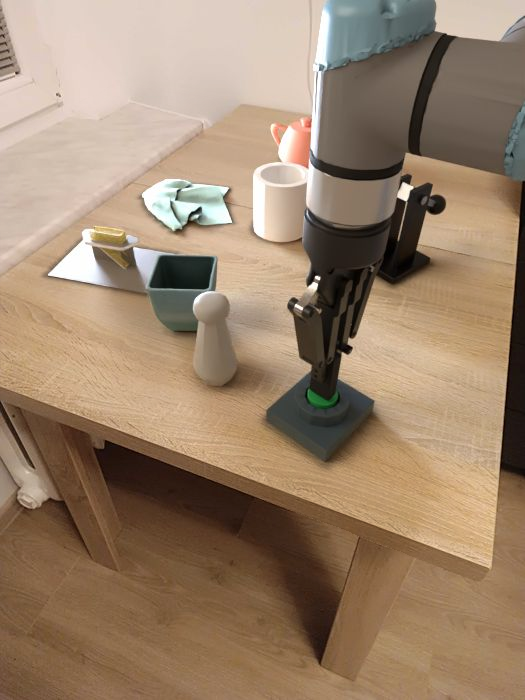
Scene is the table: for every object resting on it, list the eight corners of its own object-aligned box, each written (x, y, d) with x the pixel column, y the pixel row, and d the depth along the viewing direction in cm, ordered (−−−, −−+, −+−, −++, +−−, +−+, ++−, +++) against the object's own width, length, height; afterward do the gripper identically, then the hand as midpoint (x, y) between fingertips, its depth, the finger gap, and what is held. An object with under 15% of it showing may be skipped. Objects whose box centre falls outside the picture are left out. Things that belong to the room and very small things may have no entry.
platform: (146, 293, 80) (139, 258, 76) (47, 275, 83) (35, 240, 79) (175, 254, 88) (170, 220, 84) (84, 238, 92) (75, 206, 87)
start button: (318, 387, 62) (319, 377, 61) (342, 402, 61) (344, 392, 59) (300, 403, 60) (301, 394, 59) (324, 419, 59) (326, 410, 57)
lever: (426, 212, 88) (436, 193, 87) (442, 219, 86) (453, 200, 85) (390, 198, 79) (401, 177, 77) (408, 206, 77) (419, 185, 75)
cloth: (164, 176, 111) (163, 166, 109) (256, 193, 106) (256, 182, 104) (114, 219, 97) (111, 208, 95) (217, 241, 92) (216, 229, 90)
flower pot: (165, 301, 79) (157, 252, 72) (220, 303, 78) (218, 254, 72) (154, 339, 72) (144, 289, 66) (214, 341, 72) (211, 291, 66)
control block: (315, 377, 67) (317, 355, 64) (372, 412, 63) (377, 390, 60) (266, 420, 62) (266, 399, 59) (324, 462, 57) (328, 441, 55)
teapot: (275, 147, 123) (277, 106, 117) (348, 155, 121) (354, 113, 114) (264, 167, 115) (264, 124, 108) (342, 176, 112) (347, 133, 105)
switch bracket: (393, 244, 92) (411, 165, 81) (429, 263, 87) (452, 182, 77) (356, 263, 87) (369, 182, 77) (392, 284, 82) (411, 201, 72)
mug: (300, 205, 102) (303, 153, 94) (331, 227, 96) (338, 173, 88) (243, 223, 96) (242, 170, 89) (273, 247, 90) (275, 192, 83)
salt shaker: (207, 398, 64) (200, 321, 55) (187, 371, 68) (176, 294, 59) (246, 379, 67) (244, 303, 58) (224, 354, 70) (219, 278, 61)
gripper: (354, 172, 48) (329, 349, 65) (265, 222, 41) (262, 406, 57) (424, 197, 45) (378, 377, 61) (340, 256, 38) (314, 443, 54)
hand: (322, 391), depth 59 cm, fingers closed
